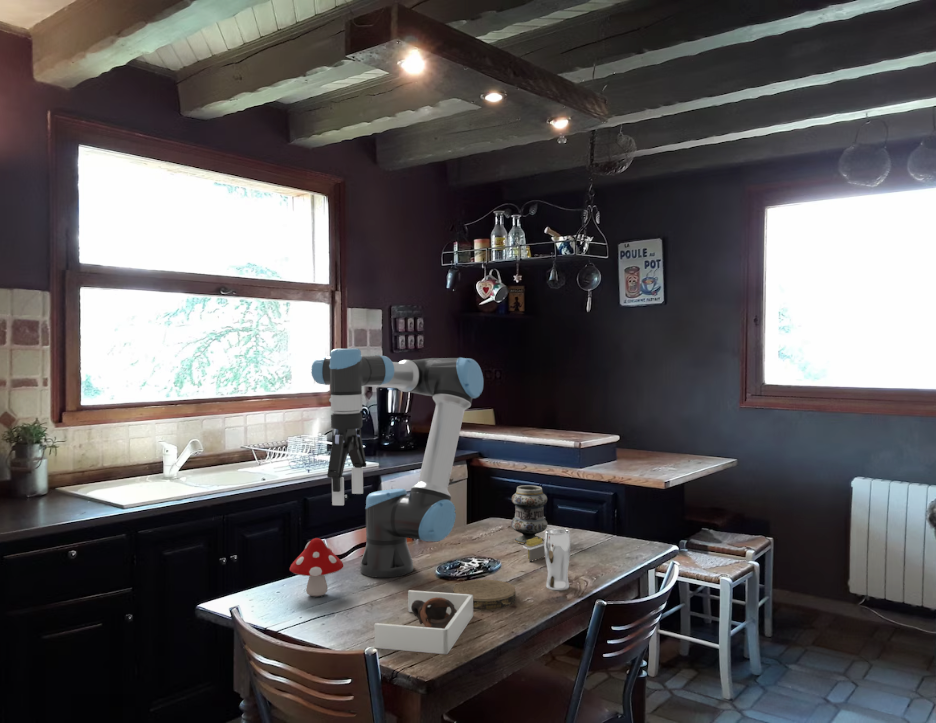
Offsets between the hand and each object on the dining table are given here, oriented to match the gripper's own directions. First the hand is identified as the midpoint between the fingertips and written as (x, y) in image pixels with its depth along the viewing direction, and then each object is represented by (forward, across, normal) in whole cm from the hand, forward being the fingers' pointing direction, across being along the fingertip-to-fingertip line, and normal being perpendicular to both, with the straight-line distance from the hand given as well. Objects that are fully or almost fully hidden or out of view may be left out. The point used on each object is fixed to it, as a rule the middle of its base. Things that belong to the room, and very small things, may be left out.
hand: (348, 499), depth 182 cm
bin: (+27, +10, +22) cm, 36 cm away
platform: (+29, -53, +40) cm, 72 cm away
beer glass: (+28, -27, +48) cm, 62 cm away
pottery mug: (+28, +9, +23) cm, 37 cm away
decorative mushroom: (+28, -9, -12) cm, 32 cm away
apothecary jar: (+29, -74, +36) cm, 87 cm away
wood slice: (+28, -13, +31) cm, 44 cm away
